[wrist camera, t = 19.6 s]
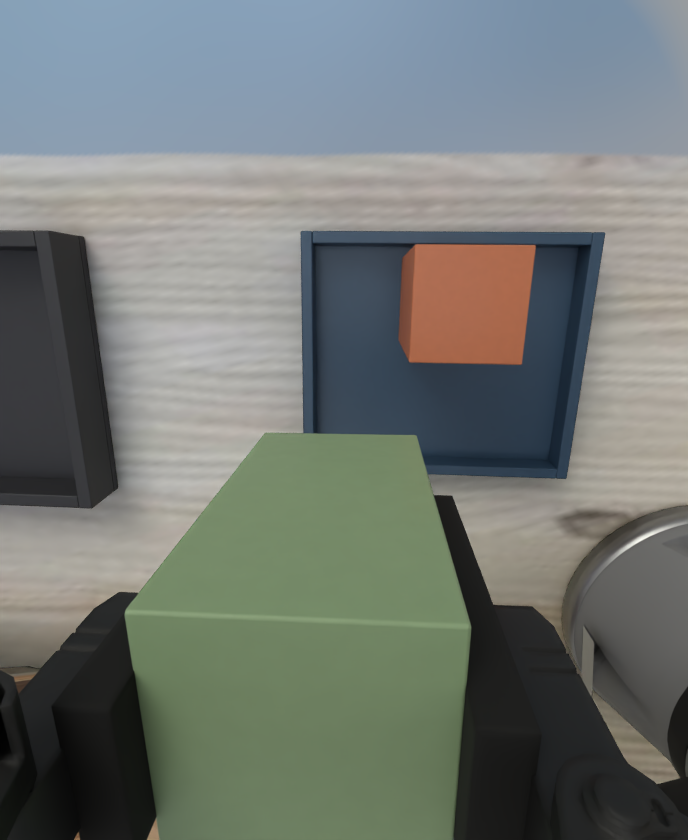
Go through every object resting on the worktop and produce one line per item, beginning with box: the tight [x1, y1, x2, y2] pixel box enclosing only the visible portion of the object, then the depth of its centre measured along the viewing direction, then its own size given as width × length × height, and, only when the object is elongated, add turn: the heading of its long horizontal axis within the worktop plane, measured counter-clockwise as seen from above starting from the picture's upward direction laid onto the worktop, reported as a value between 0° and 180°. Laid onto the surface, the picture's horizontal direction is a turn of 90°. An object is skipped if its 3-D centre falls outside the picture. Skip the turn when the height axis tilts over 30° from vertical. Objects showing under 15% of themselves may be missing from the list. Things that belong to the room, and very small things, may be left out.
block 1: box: [124, 433, 471, 840], centre depth 10 cm, size 4×4×8 cm
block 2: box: [399, 244, 536, 365], centre depth 22 cm, size 4×4×8 cm
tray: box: [301, 231, 605, 479], centre depth 26 cm, size 15×13×2 cm
